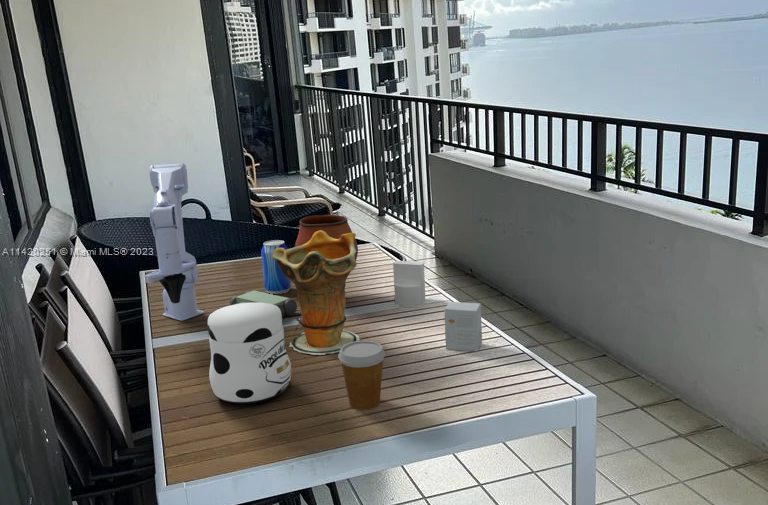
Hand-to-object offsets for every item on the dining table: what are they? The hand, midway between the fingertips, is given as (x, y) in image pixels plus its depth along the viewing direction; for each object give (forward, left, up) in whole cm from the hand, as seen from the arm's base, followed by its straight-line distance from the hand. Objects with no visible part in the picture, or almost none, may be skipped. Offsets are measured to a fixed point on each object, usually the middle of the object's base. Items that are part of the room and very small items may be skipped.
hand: (175, 302), depth 180 cm
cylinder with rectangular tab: (+37, +54, -10) cm, 66 cm away
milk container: (+42, -12, -10) cm, 45 cm away
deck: (+5, +24, -10) cm, 26 cm away
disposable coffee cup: (+66, -3, -10) cm, 67 cm away
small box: (+68, +33, -10) cm, 76 cm away
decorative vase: (+36, +18, -10) cm, 41 cm away
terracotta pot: (+14, +44, -10) cm, 47 cm away
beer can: (-6, +42, -10) cm, 44 cm away
